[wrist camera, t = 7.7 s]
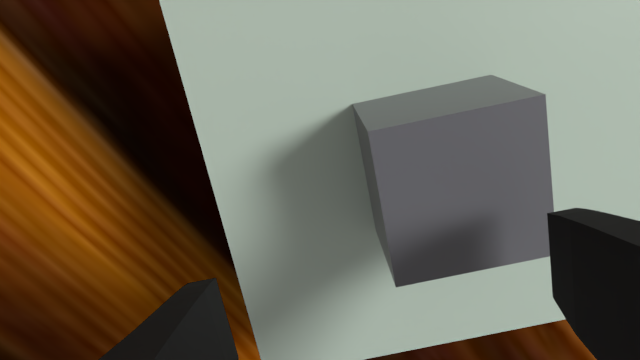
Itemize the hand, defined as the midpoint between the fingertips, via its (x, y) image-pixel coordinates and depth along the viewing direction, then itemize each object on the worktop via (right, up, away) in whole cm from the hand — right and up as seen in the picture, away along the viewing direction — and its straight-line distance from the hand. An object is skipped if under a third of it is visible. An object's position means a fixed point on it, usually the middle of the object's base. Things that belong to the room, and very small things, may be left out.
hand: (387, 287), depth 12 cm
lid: (+2, +3, +5) cm, 6 cm away
